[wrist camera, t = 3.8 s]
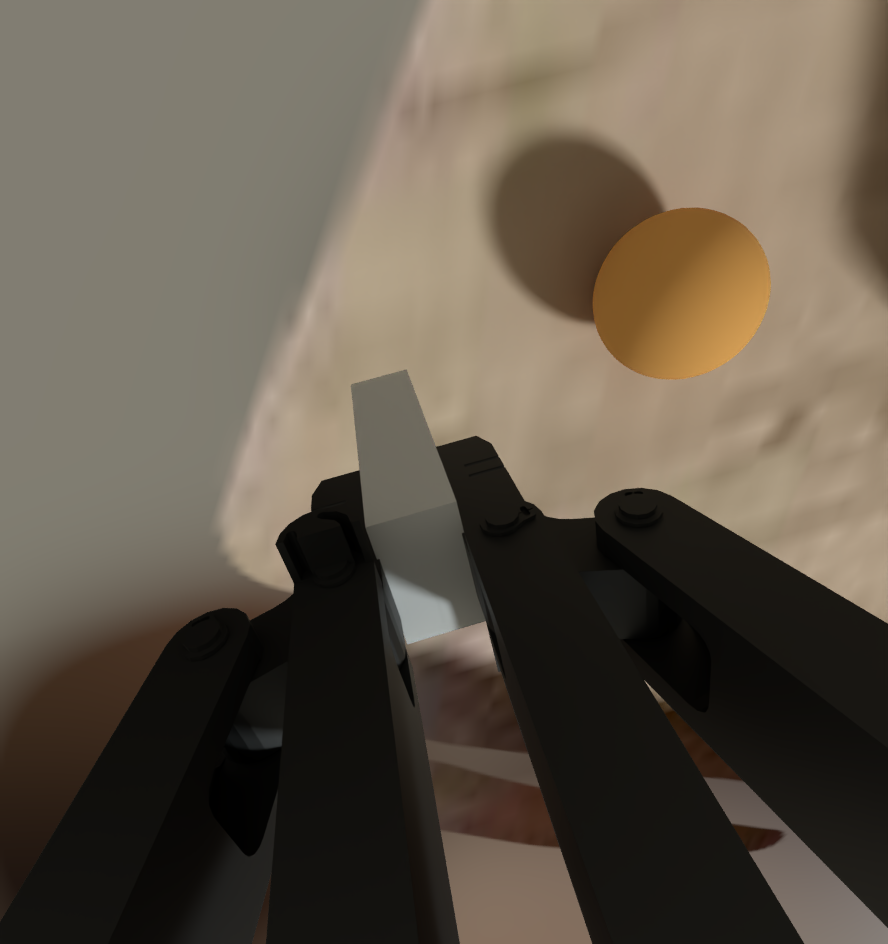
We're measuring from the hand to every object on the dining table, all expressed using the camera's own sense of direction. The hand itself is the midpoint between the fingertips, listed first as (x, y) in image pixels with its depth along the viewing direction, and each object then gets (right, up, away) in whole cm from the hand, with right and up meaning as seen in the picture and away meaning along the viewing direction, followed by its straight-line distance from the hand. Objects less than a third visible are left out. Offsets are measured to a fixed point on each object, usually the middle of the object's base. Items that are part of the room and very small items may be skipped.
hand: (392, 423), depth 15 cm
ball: (+9, +5, +4) cm, 11 cm away
